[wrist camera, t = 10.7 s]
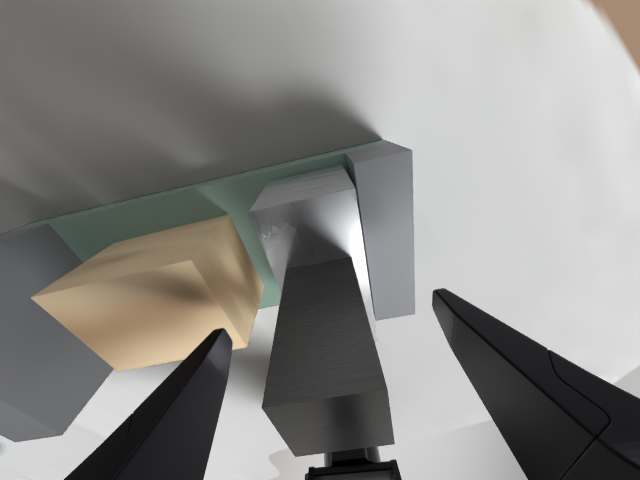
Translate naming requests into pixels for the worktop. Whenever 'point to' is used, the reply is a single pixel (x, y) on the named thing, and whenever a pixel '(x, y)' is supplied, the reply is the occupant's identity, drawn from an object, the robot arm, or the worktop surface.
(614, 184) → the worktop surface
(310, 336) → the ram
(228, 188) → the press frame
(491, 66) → the worktop surface
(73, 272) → the block
